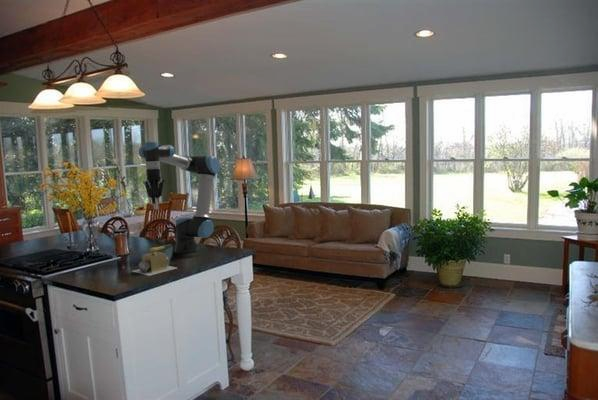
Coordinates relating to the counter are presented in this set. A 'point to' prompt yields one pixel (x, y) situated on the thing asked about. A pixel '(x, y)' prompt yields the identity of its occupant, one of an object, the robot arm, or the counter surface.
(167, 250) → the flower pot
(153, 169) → the robot arm
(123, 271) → the counter surface
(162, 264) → the valve
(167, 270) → the mat
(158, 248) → the lever
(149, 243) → the counter surface
